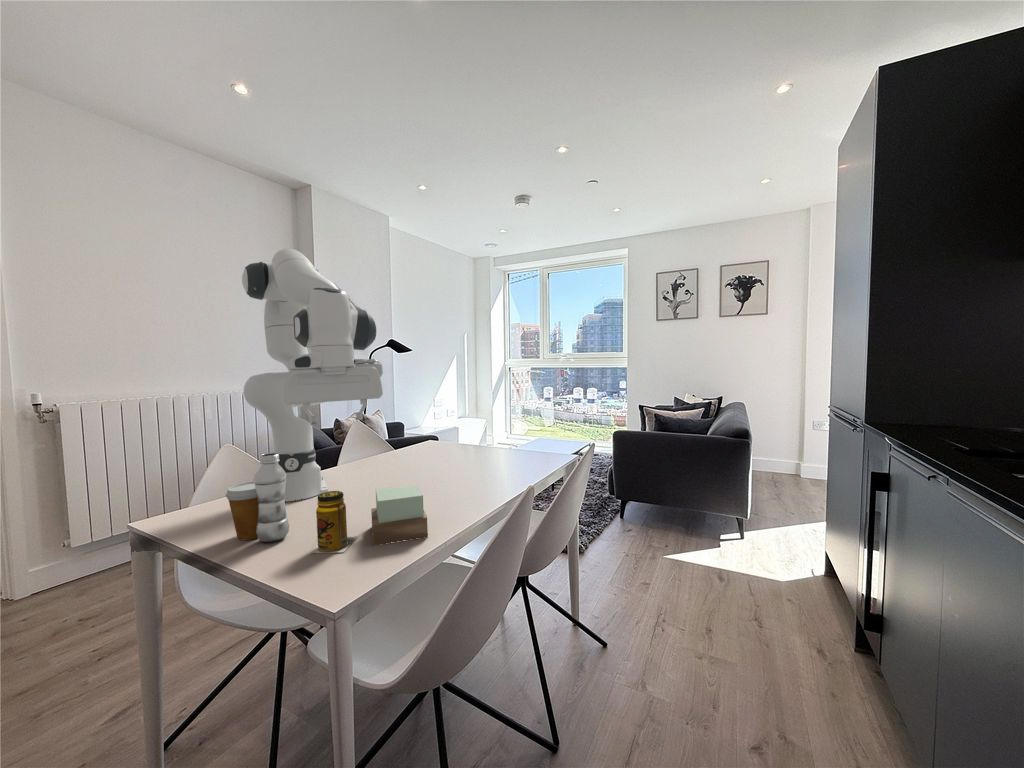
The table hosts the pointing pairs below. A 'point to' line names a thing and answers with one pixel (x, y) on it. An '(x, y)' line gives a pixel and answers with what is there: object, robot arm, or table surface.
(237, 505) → the disposable coffee cup
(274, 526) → the plastic bottle
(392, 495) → the top block
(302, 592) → the table surface
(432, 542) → the table surface
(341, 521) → the condiment
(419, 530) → the base block
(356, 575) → the table surface
